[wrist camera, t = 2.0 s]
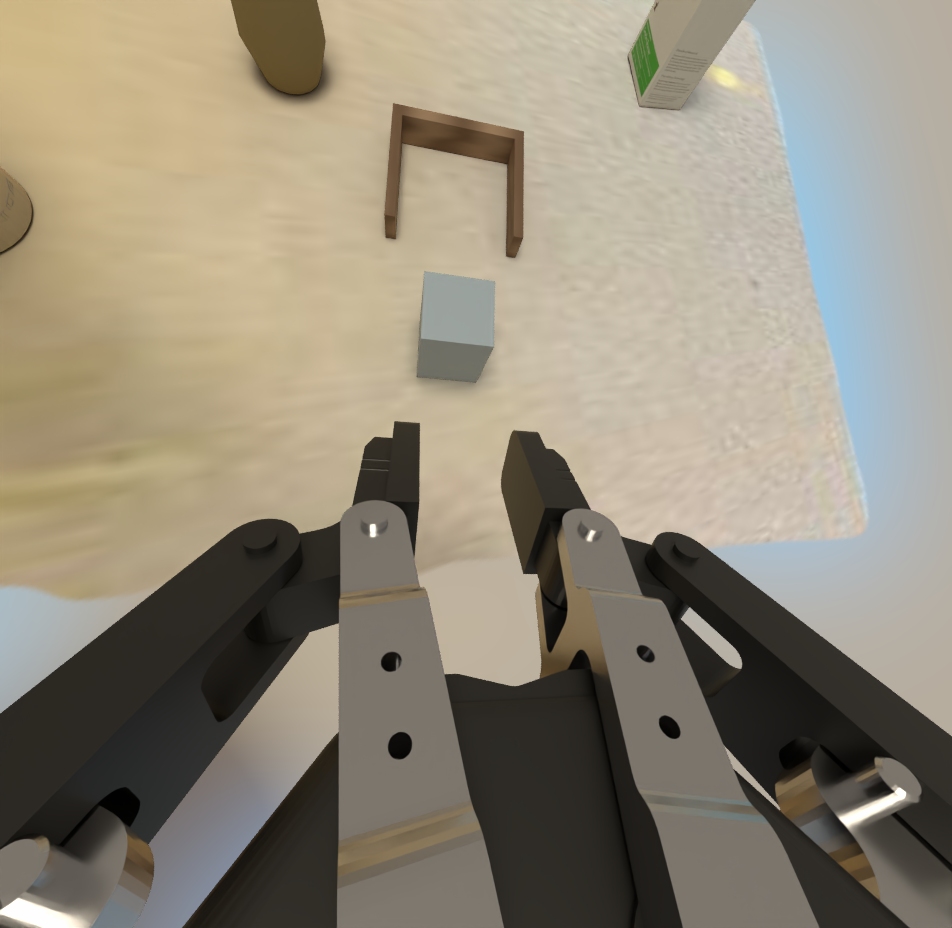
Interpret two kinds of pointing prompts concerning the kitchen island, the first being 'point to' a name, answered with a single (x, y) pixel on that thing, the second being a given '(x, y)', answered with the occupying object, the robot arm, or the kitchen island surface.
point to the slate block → (455, 327)
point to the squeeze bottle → (283, 41)
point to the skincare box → (680, 47)
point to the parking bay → (464, 141)
